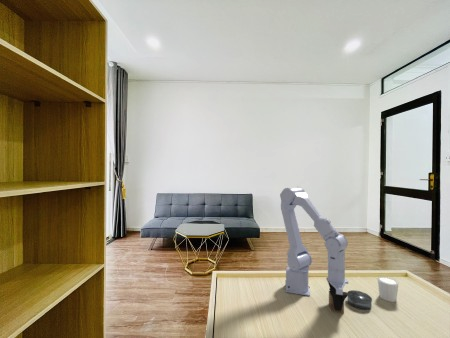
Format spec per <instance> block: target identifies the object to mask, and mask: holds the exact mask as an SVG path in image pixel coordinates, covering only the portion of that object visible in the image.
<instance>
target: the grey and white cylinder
mask: <svg viewBox="0 0 450 338" xmlns="http://www.w3.org/2000/svg"><path fill="white" fill-rule="evenodd" d="M377 287H378V294H379V295H378V296H379V298H381V300H384V301H386V302H391V303H394V302H397V300H398V291H399V282H398V280H396V279H393V278H391V277H388V276H387V277H386V276H379V277H377Z"/></svg>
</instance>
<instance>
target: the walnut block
mask: <svg viewBox="0 0 450 338" xmlns="http://www.w3.org/2000/svg"><path fill="white" fill-rule="evenodd" d="M328 306H329V310H331V312H337V313H342V314H344V313H345V301H344V302H343V306H342V310H341V311H338V310H335V309H334V304H333V298H332V295H331V293H330V290H328Z"/></svg>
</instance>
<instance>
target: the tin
mask: <svg viewBox="0 0 450 338" xmlns="http://www.w3.org/2000/svg"><path fill="white" fill-rule="evenodd" d="M346 292H347V303H348V304H349V305H350V306H351V307H353V308H356V309H358V310H360V311H361V310H362V311H369V310H371V308H372V302H373V298H372V297H371V295H370V294H368V293H366V292H363V291H360V290H349V291H346Z"/></svg>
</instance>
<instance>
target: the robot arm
mask: <svg viewBox="0 0 450 338" xmlns="http://www.w3.org/2000/svg"><path fill="white" fill-rule="evenodd" d="M279 197H280V211H281V214H282V215H281V216H282V219H283V223H284V227H285V231H286V236H287V241H288V243H289V248H288V251H287V252H286V255H287V259H286V261H287V262H286V263H287V267H286V268H285V281H284V283H285V292H286V293H290V294H296V295H303V296H308V297H309V296H310V295H311V293H310V292H311V291H310V285H309V269H310V266H311V265H312V263H313V260H312V256H311V255H310V253H309V250H308V248H307V247H306V246H304V245H303V240H302V236H301V233H300V229H299V224H298V221H297V218H296V217H297V216H296V213H295V208H296V207H297V206H299V207H301V208H302V209H303V210H304V211H305V213H306V214H307V215H308V216H309V217H310V219H311V220H312V221H313V227H314V228H315V230H316V231H317V232H318V233H319V235H320V236H321V238H322V239H323V240H324V247H325V249H326V250H327V277H326V278H325V279H326V281H327V283H328V286H329V290H328V291H330V293H331V295H332V298H333V304H334V309H335V310H338V311H341V310H342V306H343V302H344V303H345V300H346V299H347V298H348V296H347V292H348V291H343V289H344V287H345V285H346V284H347V285H348V284H349V280H348V279H346V271H345V270H346V250H345V249H346V248H347V247H348V244H349V243H348V240H347V238H346V236H345V235H343V234H342V233H340V232H339V231H337V230H336V229H335V227H334V226H333V225H332V224H331V220H330V219H327V218H326V217H324V216H322V215H321V214H320V212H319V211H318V210H317V209H316V207H315V205H314V204H313V202H312V201H311V199H310V198H309V195H308V193H307V192H306V191H305V189H304V188H303V187H301V186H297V187H296V186H295V187H285V188H283V190H282V191H281V192H280V195H279Z"/></svg>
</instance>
